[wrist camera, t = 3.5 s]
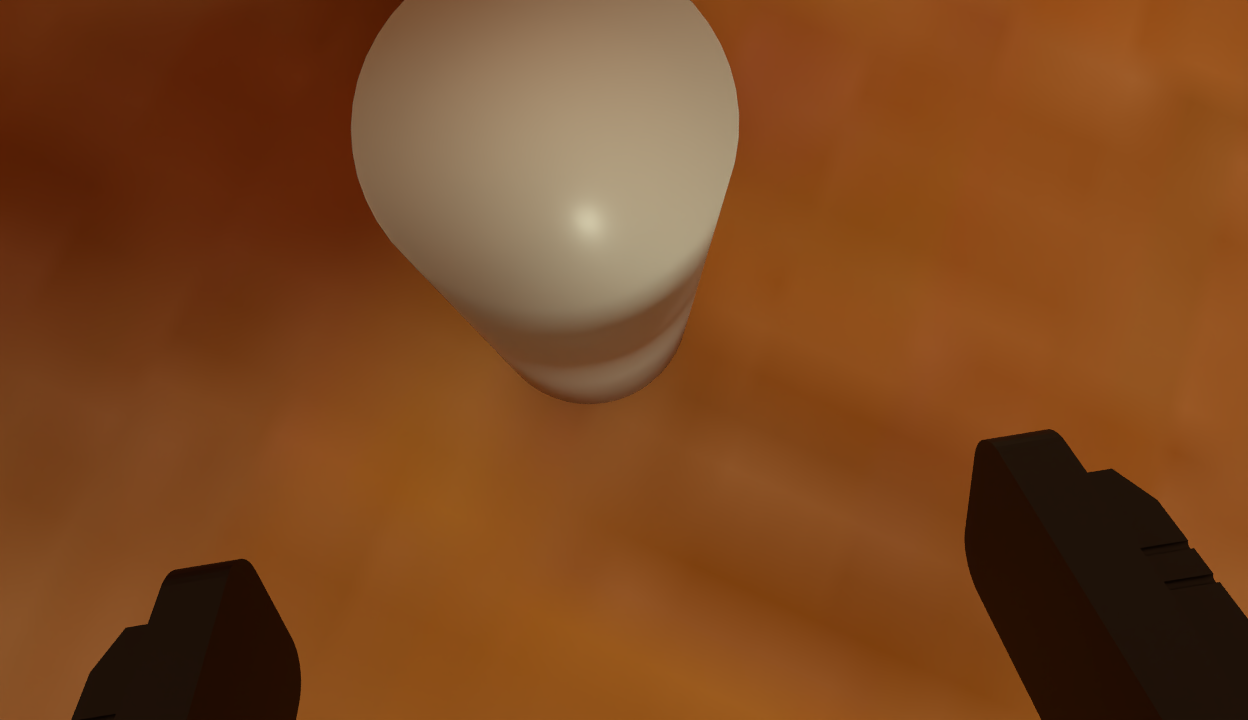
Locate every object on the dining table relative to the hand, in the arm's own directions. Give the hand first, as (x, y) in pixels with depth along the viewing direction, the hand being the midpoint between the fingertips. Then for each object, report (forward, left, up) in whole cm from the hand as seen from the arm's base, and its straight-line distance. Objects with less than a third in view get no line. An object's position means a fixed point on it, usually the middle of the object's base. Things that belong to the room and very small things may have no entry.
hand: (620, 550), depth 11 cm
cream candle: (0, +5, -10) cm, 12 cm away
